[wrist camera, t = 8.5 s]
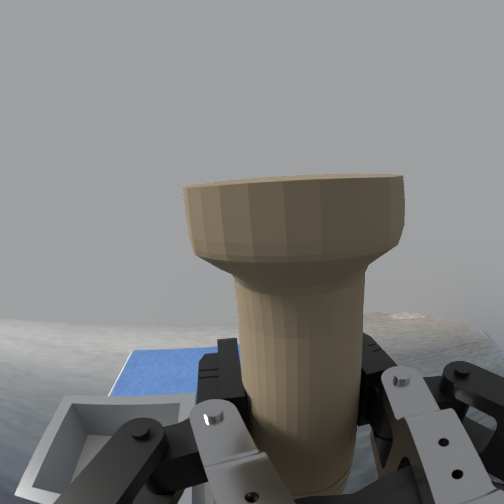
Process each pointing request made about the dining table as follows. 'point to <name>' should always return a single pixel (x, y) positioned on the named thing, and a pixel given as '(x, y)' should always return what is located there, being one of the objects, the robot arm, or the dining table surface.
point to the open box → (96, 441)
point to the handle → (299, 306)
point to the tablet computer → (161, 372)
